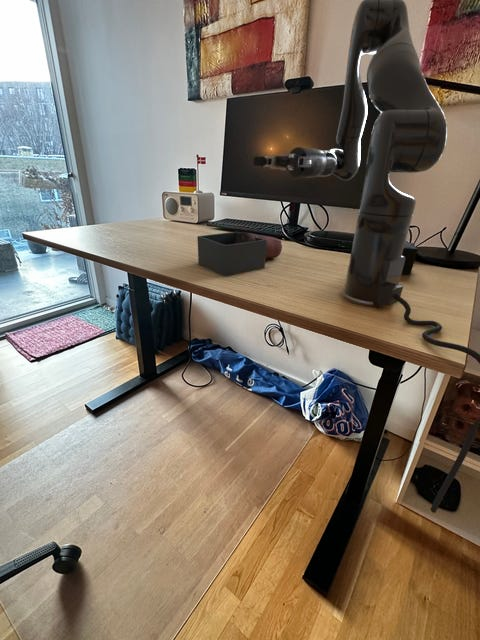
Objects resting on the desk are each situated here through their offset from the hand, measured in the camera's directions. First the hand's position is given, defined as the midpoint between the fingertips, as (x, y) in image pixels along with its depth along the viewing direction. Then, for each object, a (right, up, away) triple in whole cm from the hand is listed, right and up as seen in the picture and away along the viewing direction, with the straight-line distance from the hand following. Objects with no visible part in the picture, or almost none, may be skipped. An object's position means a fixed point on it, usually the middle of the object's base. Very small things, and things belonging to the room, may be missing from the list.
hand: (264, 160), depth 77 cm
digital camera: (+39, -27, +7) cm, 47 cm away
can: (-6, -20, +4) cm, 21 cm away
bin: (-9, -26, +6) cm, 28 cm away
